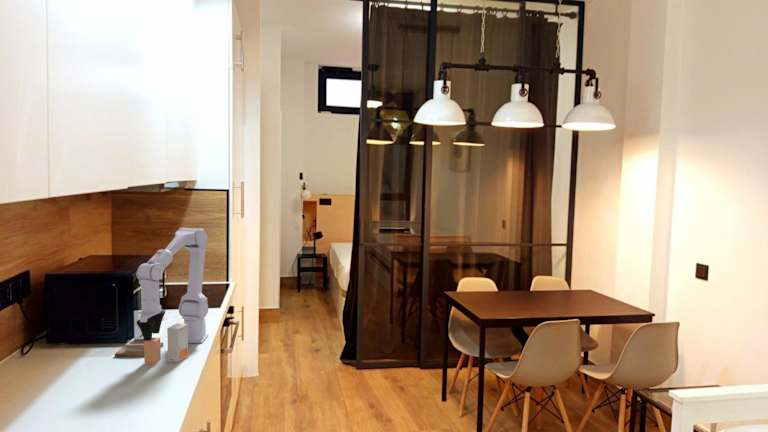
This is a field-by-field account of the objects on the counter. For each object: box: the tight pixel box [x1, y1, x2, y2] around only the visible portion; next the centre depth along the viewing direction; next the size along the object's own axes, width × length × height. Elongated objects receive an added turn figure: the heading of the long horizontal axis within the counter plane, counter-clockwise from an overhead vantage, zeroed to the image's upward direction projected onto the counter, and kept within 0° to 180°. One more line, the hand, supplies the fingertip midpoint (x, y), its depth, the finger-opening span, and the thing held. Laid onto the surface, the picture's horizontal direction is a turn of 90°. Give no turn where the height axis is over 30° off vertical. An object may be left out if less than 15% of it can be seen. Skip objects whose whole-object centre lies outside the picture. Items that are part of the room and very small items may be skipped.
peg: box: [143, 337, 162, 365], centre depth 178 cm, size 4×4×8 cm
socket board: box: [114, 337, 164, 358], centre depth 188 cm, size 11×13×4 cm
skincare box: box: [166, 322, 189, 363], centre depth 180 cm, size 6×4×12 cm
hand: (151, 336), depth 177 cm, fingers open, 7 cm apart
